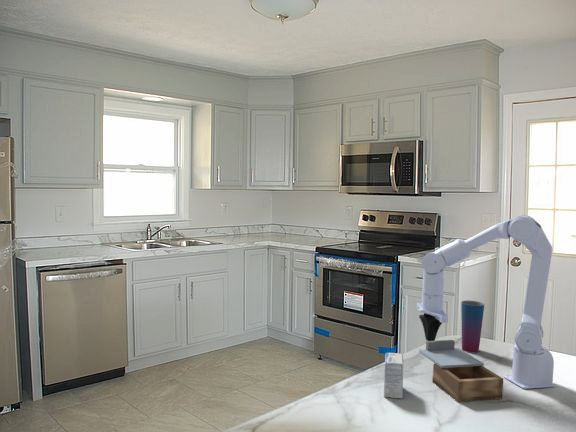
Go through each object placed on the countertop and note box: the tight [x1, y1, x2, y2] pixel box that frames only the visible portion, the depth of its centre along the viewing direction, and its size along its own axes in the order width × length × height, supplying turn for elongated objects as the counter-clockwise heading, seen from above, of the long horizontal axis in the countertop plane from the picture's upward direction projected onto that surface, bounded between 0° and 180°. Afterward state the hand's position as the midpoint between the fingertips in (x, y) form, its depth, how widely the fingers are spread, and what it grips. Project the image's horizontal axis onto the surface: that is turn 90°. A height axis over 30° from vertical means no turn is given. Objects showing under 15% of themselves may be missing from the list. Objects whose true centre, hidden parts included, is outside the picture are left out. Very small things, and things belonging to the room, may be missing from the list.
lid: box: [418, 339, 485, 368], centre depth 134 cm, size 12×12×3 cm
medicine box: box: [383, 352, 404, 400], centre depth 124 cm, size 8×4×9 cm, turn 168°
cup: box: [460, 299, 485, 354], centre depth 157 cm, size 7×7×15 cm
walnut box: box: [432, 363, 504, 403], centre depth 126 cm, size 12×12×5 cm
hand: (430, 340), depth 144 cm, fingers closed
